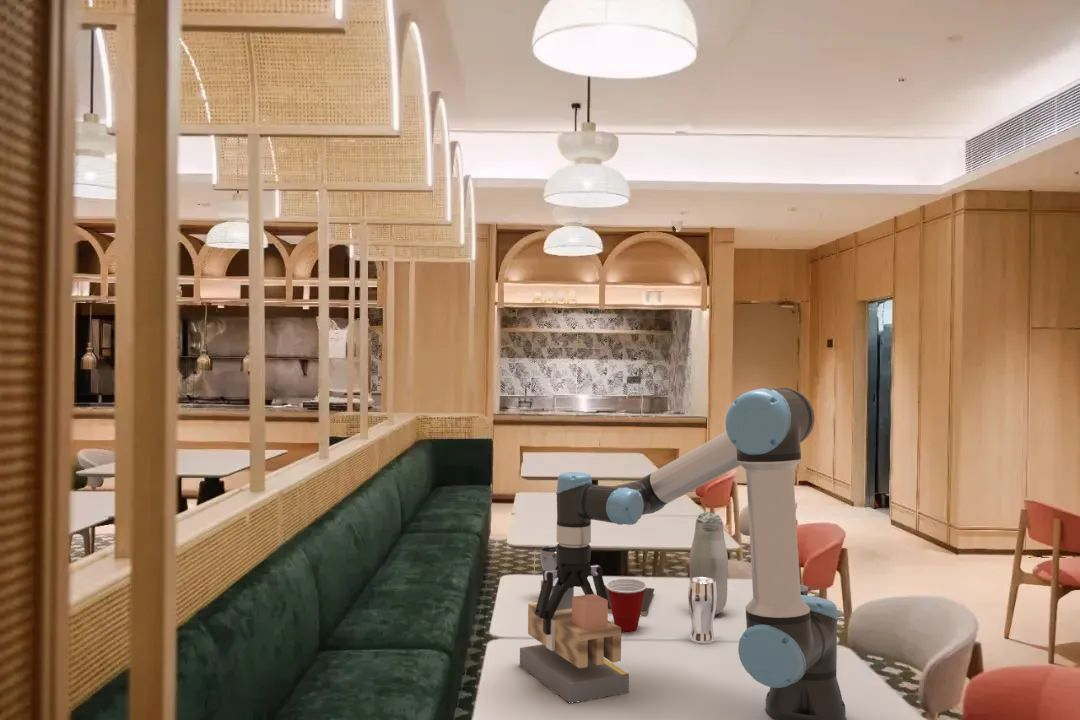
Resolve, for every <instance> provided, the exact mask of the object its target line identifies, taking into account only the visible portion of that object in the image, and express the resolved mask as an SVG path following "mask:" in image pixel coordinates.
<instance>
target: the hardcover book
mask: <svg viewBox="0 0 1080 720" xmlns="http://www.w3.org/2000/svg"><path fill="white" fill-rule="evenodd" d="M604 586H605V590H606V594H607V598H608V602H609V606H610V607H609V609H608V613H612V609H611V602H610V596H609V592H608V589H607V588H606V585H605V584H604ZM654 592H655V588H651V587H650V588H649V587H647V588H646V589H645V593H644V597H643V602H642V608H641V614H640V615H641V616H640V617H647V614H648V611H649V607H650V604H651V603H652V598H653V596H654ZM646 613H647V614H646Z"/></svg>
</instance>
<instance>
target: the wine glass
mask: <svg viewBox="0 0 1080 720" xmlns="http://www.w3.org/2000/svg"><path fill="white" fill-rule="evenodd" d="M556 546H557V545H547V546H543V547H540V549H539V550H540V552H539V553H540V564H541V567H542V569H543V571H544V570H547V571H552V570H555V568H556V566H557V561H556ZM556 578H558V577H557V576H556V577H555V579H556Z"/></svg>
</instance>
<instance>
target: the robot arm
mask: <svg viewBox="0 0 1080 720" xmlns="http://www.w3.org/2000/svg"><path fill="white" fill-rule="evenodd" d="M725 417H726V418H725V430H726V431H724V432H722V433H720V434H719V435H716V436H715V437H713V438H712V439H710V440H707V441H706V442H705V443H703V444H701V445H699V446H697V447H696V448H694V449H692V450H690V451H689V452H687V453H685V454H683V455H681V456H679V457H678V458H676V459H674V460H672V461H670V462H668V463H667V464H665V465H663V466H662V467H659V468H658V469H656V470H654V471H653V472H651V473H649V474H647V475H645V476H644V477H642V478H640V479H638V480H635V481H632V482H631V481H630V482H628V483H623V484H617V485H614V486H613V485H612V486H611V485H610V486H609V485H600V484H595V483H593V481H592V480H593V479H592V476H591V474H589V473H586V472H579V471H578V472H577V471H573V472H563V473H561V474H559V475H558V478H557V483H556V484H557V486H556V512H557V513H556V517H557V518H556V542H557V545H555V546H556V561H557V566H556V568H555V570H552V571H547V570H543V571H542V580H543V584H542V587H541V586H540V592H539V596H538V600H537V606H536V610H535V615H536V616H538V617H539V618H541V619H543V632H544V634H546V647H547V648H548V649H549V650H551V651H555V620H554V619H552V617H553V615H554V613H555V611H556V609H557V607H558V605H559V603H560V601H561V599H562V597H563V595H564V593H565V592H566V591H567V590H568V588H573V587H574V588H575V587H577V588H581V589H582V592H583V594H584V595H589V594H596V595H598V596H600V597H602V598H604V599H606V600H608V598H607V594H606V590H605V586H604V585H605V583H604V579H603V573H604V571H603V570H604V568H603V567H602V566H600V565H598V564H597V563H596V564H593V565H591V564H590V562H591V557H592V556H591V546H590V543H591V542H592V527H591V526H592V524H591V523H592V521H593V520H594V521H598V522H599V521H600V522H605V523H611V524H617V525H628V526H629V525H630V526H632V525H635V524H636V523H638V522H639V520H640V519H641V518H642V517H643V516H644V515H649V514H650V515H651V514H654V513H656V512H658V511H660V510H662V509H663V508H664V507H665V506H666V505H667V504H669V503H671V502H674V501H675V500H676V499H679V498H680V497H682V496H684V495H687V494H688V493H691V492H692V491H694V490H696V489H698V488H700V487H701V486H704V485H706V484H707V483H709V482H711V481H713V480H716V478H719V477H721V476H722V475H724V474H726V473H728V472H729V473H730V471H732V470H735V469H737V468H738V467H740V466H741V467H742V468H743V469H744V470H745V473H746V474H745V477H746V490H747V491H746V492H747V493H746V495H747V508H748V509H747V510H748V529H749V547H750V563H751V579H752V580H751V581H752V583H751V584H752V597H753V598H752V599H751V600H750V601H749V602H748V604H747V603H746V606H745V620H746V622H745V624H746V629H745V631H744V632H743V633H742V634H741V637H740V638H739V641H738V647H737V649H738V650H737V651H738V657H739V659H740V663H741V665H742V667H743V668H744V670H745V671H746V673H747V674H749V675H750V676H751V677H752V679H753V680H755V681H756V682H757V683H759V684H762V686H766V687H769V691H767V693H766V696H765V710H766V713H767V714H768V715H769V717H771V718H772V719H775V720H846V719H845V718H846V714H847V713H846V711H847V709H846V705H845V702H844V700H843V695H842V693H841V688H840V686H839V682H838V679H837V662H838V661H837V658H838V653H837V650H838V622H839V618H838V609H837V606H836V603H834V602H833V601H832V600H828V599H826V598H823V597H819V596H813V595H808V594H807V595H801V592H800V584H801V579H800V560H799V547H798V546H799V545H798V544H799V543H798V530H797V529H798V527H797V512H796V511H797V510H796V494H795V478H794V477H795V476H794V470H795V468H796V467H797V465H798V464H799V463H800V462H801V461H802V452H801V451H802V450H801V443H803V442H805V440H806V439H807V438H808V437H810V435H811V433H812V432H813V429H814V427H815V420H816V418H815V411H814V408H813V406H812V404H811V402H810V400H809V399H808V398H807V397H806V396H805V395H804V394H803V393H801V392H800V391H797V390H796V389H792V388H788V387H778V388H763V387H762V388H758V389H756V388H755V389H753V390H749V391H746V392H744V393H742V394H741V395H740V396H738V397H737V398H736V399H734V401H732V403H731V404H730V406H729V408H728V410H727V413H726V416H725ZM589 575H592V577H591V578H592V582H593V584H594V588H595V592H594V590H593V588H592V587H591V586H592V585H591V583H590V581H589V579H588V577H589ZM556 576H557V577H558V581H557V583H556V585H555V589H554V591H553V593H552V595H551V597H550V594H551V590H552V586H553V581H554V580H555V577H556ZM562 585H563V586H562ZM549 598H550V599H549ZM609 607H610V606H609V602H608V609H609Z"/></svg>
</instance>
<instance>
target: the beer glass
mask: <svg viewBox="0 0 1080 720" xmlns="http://www.w3.org/2000/svg"><path fill="white" fill-rule="evenodd" d="M687 597H688V606H689V607H688V608H689V613H690V620H691V626H690V627H691V629H690V633H689V634H690V635H689V640H690V641H691V642H693V643H695V644H702V645H703V644H704V645H705V644H706V645H707V644H708V645H709V644H712V643H714V642H715V634H714V620H715V616H716V615H715V610H716V603H717V590H716V580H715V579H713V578H709V577H692V578H690V577H689V582H688V596H687Z"/></svg>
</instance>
